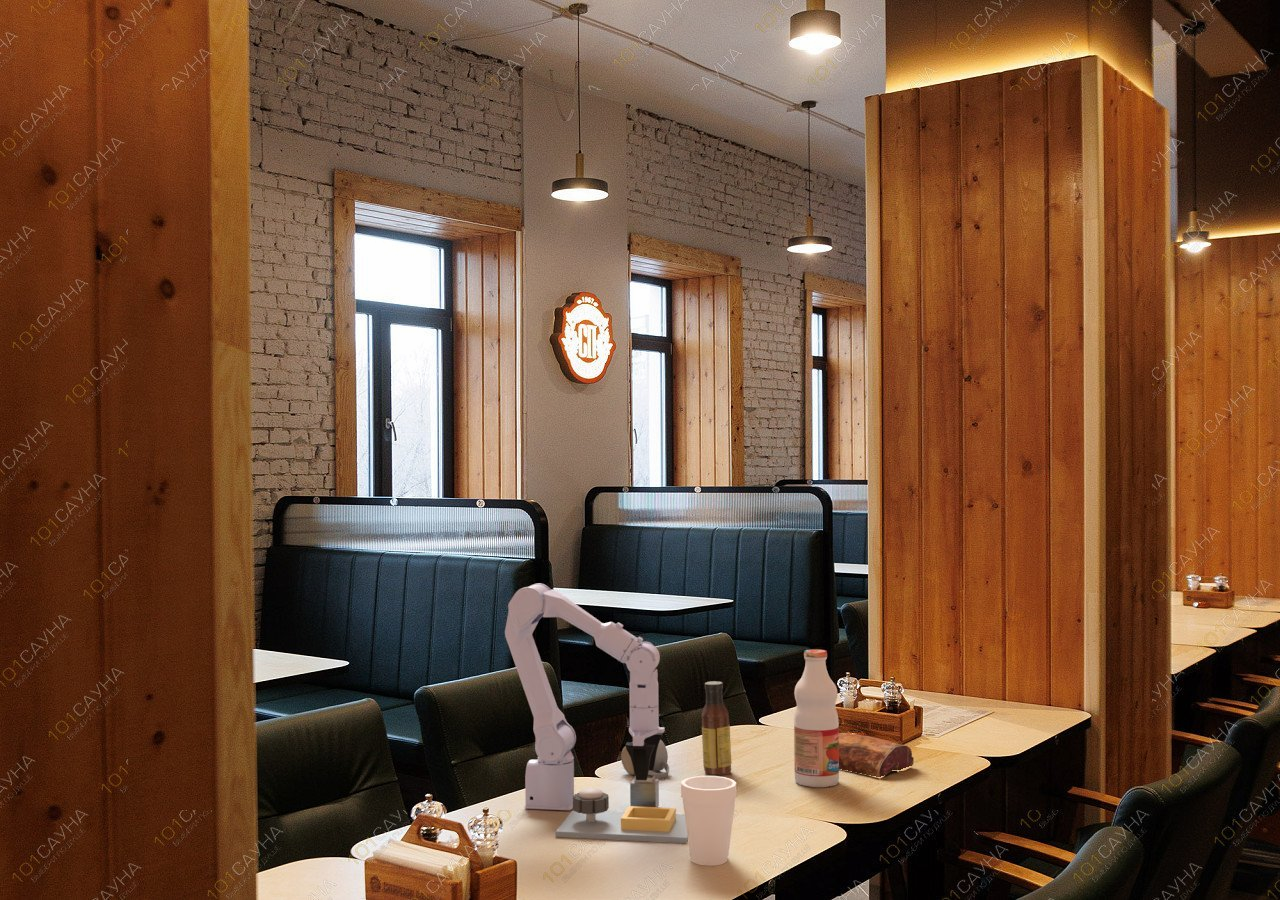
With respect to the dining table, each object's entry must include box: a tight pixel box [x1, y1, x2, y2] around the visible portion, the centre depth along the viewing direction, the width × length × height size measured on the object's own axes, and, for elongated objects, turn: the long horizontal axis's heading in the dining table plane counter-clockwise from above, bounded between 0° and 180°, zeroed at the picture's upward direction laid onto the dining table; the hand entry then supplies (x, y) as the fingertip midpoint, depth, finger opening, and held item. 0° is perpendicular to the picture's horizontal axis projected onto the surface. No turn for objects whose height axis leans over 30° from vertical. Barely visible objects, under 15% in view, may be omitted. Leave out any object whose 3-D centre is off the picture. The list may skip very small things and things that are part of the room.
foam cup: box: [680, 775, 738, 867], centre depth 197 cm, size 10×9×13 cm
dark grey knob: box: [572, 788, 610, 814], centre depth 216 cm, size 6×6×3 cm
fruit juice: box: [793, 649, 840, 788], centre depth 246 cm, size 9×9×28 cm
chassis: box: [555, 805, 688, 844], centre depth 214 cm, size 24×14×3 cm, turn 80°
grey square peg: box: [629, 775, 660, 807], centre depth 227 cm, size 5×4×6 cm
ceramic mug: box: [620, 739, 670, 780], centre depth 254 cm, size 11×8×8 cm
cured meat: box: [838, 732, 914, 777], centre depth 264 cm, size 18×25×7 cm
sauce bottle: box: [700, 680, 733, 776], centre depth 255 cm, size 7×6×20 cm
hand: (644, 774), depth 227 cm, fingers open, 7 cm apart
